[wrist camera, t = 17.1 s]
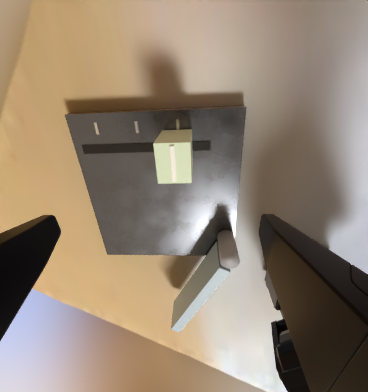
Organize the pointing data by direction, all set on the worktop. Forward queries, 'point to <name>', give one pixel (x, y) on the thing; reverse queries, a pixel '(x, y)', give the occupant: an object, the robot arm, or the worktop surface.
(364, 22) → the worktop surface
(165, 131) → the fader knob
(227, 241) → the door
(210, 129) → the console
